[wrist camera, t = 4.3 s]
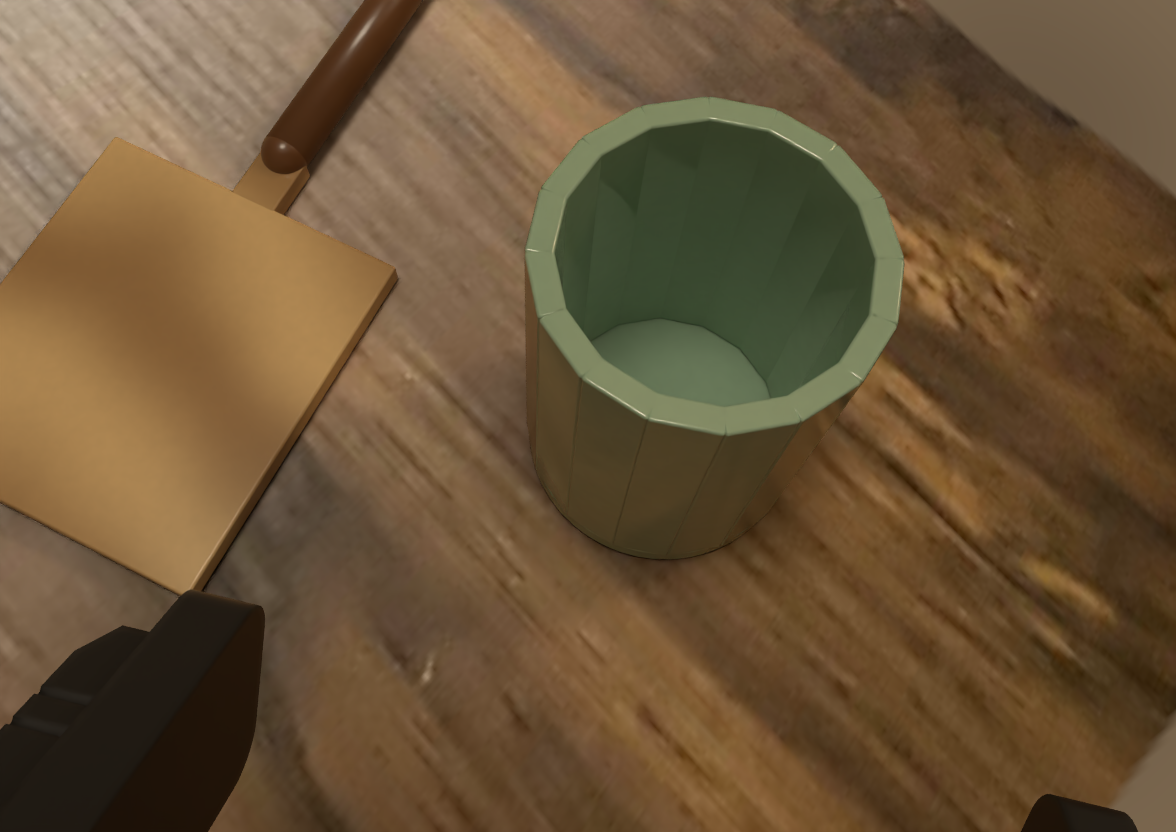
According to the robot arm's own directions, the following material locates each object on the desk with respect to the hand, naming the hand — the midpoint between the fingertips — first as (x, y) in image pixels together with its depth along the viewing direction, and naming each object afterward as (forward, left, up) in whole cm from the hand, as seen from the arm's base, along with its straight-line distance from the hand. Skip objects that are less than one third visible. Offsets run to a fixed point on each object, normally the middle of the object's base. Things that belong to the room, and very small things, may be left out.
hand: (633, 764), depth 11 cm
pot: (+6, -6, -13) cm, 15 cm away
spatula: (+17, -3, -13) cm, 21 cm away
